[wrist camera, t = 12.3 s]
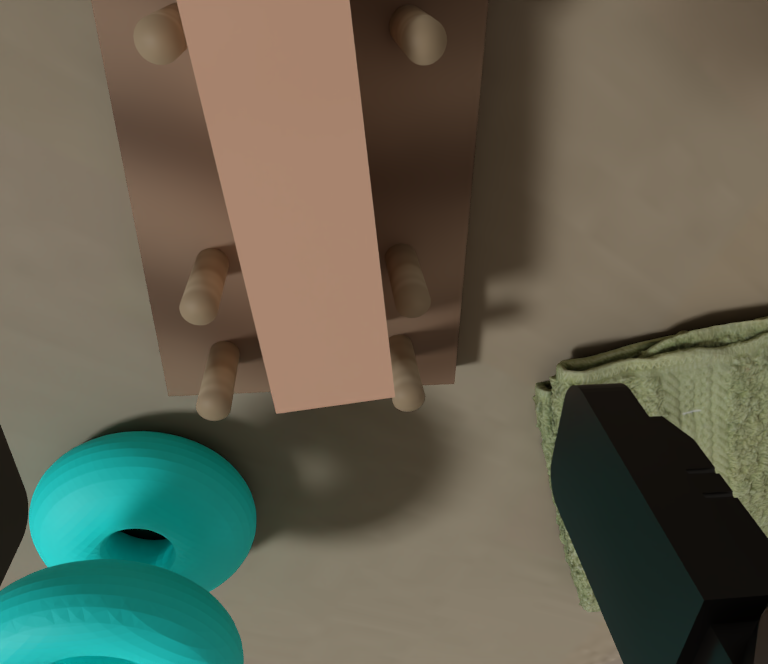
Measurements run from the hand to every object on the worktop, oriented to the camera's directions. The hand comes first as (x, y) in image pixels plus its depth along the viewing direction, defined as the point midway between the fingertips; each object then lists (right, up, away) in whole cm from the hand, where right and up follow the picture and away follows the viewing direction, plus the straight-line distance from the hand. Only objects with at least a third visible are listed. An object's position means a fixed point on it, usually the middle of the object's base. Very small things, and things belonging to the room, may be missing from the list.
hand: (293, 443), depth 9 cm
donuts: (-10, -6, +22) cm, 25 cm away
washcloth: (+16, -5, +25) cm, 30 cm away
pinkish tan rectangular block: (-2, +8, +13) cm, 15 cm away
